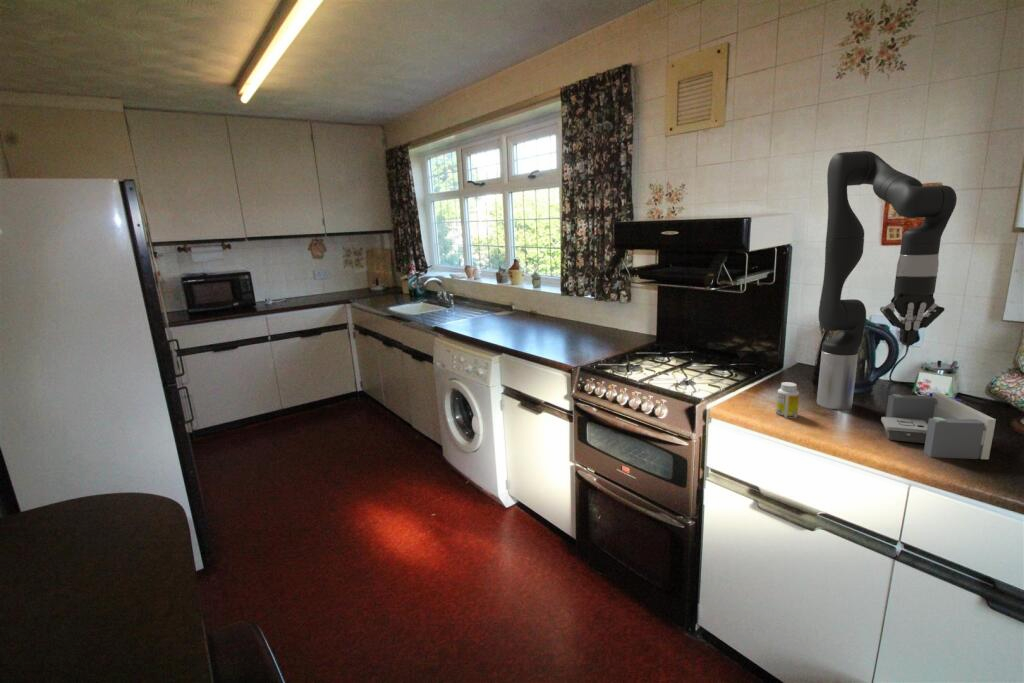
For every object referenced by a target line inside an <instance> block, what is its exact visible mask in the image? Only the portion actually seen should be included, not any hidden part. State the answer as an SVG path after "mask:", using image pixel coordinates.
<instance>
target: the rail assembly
mask: <svg viewBox="0 0 1024 683" xmlns="http://www.w3.org/2000/svg"><path fill="white" fill-rule="evenodd" d="M932 393H933V395H932V396H929V395H913V394H912V395H911V394H910V395H909V394H908V395H907V394H906V395H904V394H899V393H892V394H889V395H888V398H887V406H886V412H885V417H893V418H906V419H918V420H924V421H926V423H927V424H928V427H927V434H926V440H925V443H924V448H923V453H924V454H925V455H926V456H928V457H929V458H939V459H940V458H942V459H970V460H971V459H972V460H979V459H980V460H989V459H990V454H991V448H992V442H993V438H994V432H995V426H996V421H997V419H996V418H993V417H992V416H989V415H988V414H985V413H984V412H982V411H979V410H977V409H974V408H973V407H971V406H968V405H966V404H964V403H962V402H961V403H960V402H958V401H956V400H954V399H952V398H953V397H952V398H950V397H951V396H949V395H948V396H947V395H946V394H944V393H942V392H940V391H939V392H938V391H935V392H933V391H932Z"/></svg>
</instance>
